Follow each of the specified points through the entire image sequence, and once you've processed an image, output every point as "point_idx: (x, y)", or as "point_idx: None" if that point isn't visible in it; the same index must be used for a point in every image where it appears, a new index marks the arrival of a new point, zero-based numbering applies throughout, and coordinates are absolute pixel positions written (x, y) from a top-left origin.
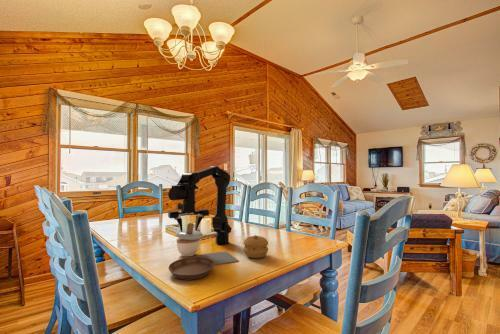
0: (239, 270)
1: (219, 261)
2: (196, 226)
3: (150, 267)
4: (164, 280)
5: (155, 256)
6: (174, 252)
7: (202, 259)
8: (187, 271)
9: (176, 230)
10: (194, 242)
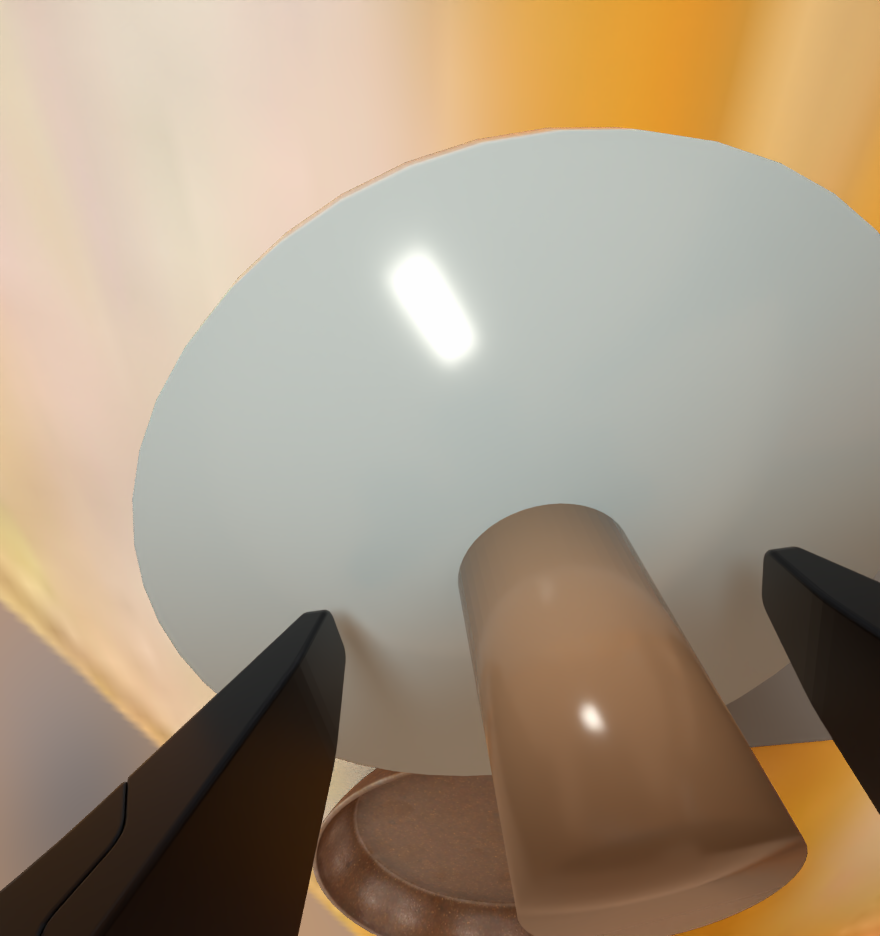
0: (852, 853)
1: (787, 700)
2: (852, 769)
3: (139, 654)
4: None
5: (52, 329)
6: (284, 186)
7: None
8: (461, 830)
9: (135, 488)
10: None
